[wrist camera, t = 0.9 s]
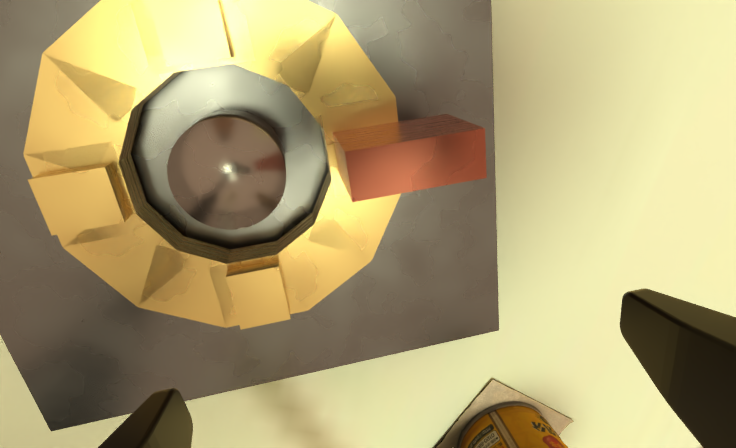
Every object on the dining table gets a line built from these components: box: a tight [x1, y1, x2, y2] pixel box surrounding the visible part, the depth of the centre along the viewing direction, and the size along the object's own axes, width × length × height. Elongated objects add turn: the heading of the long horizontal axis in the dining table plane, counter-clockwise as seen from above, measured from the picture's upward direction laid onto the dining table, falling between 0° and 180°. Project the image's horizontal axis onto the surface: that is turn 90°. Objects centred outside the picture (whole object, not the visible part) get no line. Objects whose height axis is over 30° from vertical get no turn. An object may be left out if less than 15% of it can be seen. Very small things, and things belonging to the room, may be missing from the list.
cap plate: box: [0, 0, 499, 431], centre depth 18 cm, size 22×22×4 cm
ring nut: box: [23, 0, 487, 330], centre depth 16 cm, size 15×13×5 cm
